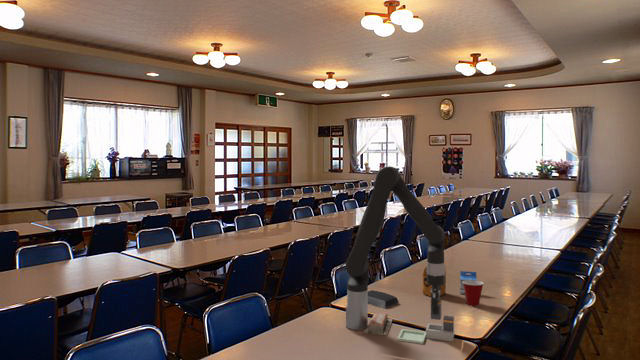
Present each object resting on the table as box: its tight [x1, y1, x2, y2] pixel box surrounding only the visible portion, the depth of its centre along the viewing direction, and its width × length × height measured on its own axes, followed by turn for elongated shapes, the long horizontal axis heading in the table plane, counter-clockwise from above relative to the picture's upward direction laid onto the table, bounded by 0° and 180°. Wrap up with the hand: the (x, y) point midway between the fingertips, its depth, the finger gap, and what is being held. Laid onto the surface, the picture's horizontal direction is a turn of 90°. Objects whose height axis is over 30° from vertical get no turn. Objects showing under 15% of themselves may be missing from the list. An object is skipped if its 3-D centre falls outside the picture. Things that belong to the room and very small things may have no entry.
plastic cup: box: [462, 280, 485, 307], centre depth 230 cm, size 11×11×12 cm
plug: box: [430, 297, 442, 321], centre depth 188 cm, size 4×4×8 cm
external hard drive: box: [368, 289, 400, 309], centre depth 236 cm, size 13×19×4 cm
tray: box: [396, 328, 426, 345], centre depth 187 cm, size 11×11×2 cm
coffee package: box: [421, 263, 447, 297], centre depth 248 cm, size 10×12×22 cm
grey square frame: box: [425, 314, 455, 342], centre depth 188 cm, size 11×8×9 cm
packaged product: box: [363, 312, 393, 336], centre depth 199 cm, size 18×5×10 cm
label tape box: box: [459, 270, 478, 295], centre depth 248 cm, size 9×4×12 cm, turn 73°
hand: (435, 312), depth 188 cm, fingers closed on plug, 4 cm apart
